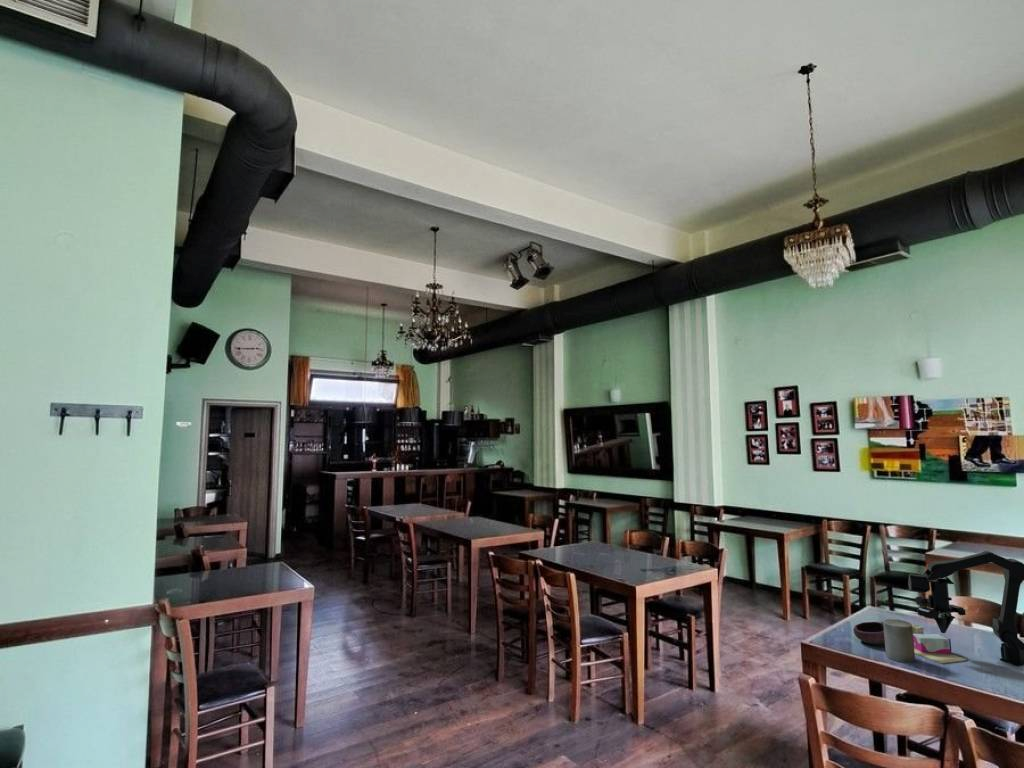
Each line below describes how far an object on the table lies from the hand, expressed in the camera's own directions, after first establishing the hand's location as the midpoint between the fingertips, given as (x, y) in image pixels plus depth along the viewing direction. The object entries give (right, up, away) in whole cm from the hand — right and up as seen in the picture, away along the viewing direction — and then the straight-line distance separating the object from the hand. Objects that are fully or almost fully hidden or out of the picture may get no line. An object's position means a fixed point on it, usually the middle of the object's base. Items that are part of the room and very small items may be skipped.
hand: (943, 633), depth 225 cm
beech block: (-5, -9, +8) cm, 13 cm away
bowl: (-21, -10, +12) cm, 26 cm away
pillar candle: (-22, -8, -5) cm, 23 cm away
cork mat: (-5, -8, -3) cm, 10 cm away
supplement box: (+2, -5, +1) cm, 6 cm away
